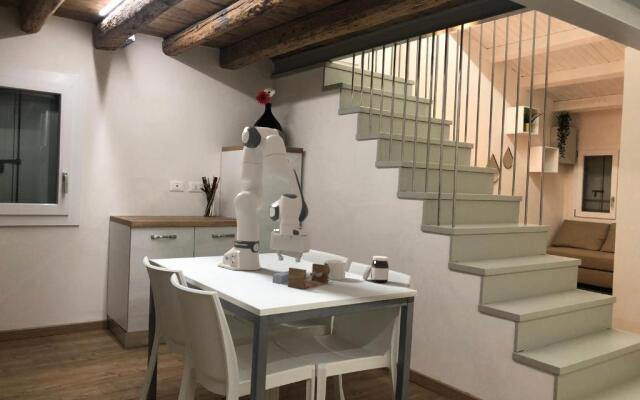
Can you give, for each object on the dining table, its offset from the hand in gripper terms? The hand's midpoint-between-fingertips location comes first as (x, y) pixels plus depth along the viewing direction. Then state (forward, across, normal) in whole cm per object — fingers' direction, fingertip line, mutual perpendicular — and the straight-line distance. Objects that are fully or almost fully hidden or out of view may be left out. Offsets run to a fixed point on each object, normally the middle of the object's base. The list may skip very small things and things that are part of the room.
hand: (289, 261), depth 234 cm
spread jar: (+11, +27, +30) cm, 42 cm away
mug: (+10, +8, +24) cm, 27 cm away
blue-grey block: (+9, -1, 0) cm, 9 cm away
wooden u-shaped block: (+9, +11, 0) cm, 14 cm away
